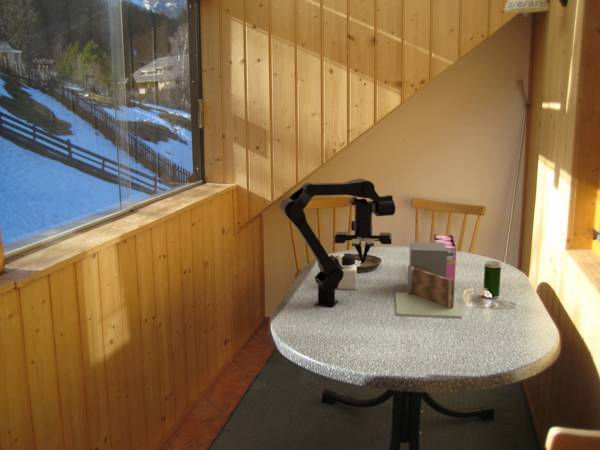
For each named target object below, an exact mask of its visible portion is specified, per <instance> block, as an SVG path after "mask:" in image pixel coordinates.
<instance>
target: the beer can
mask: <svg viewBox="0 0 600 450" xmlns="http://www.w3.org/2000/svg"><path fill="white" fill-rule="evenodd" d="M483 270H484V271H483V273H484V274H483V288H482V289H483V290H486V291H489V292H490V293H491V294H492V300H494V299H495V300H497V299H498V298H499V297H500V292H501V273H502V271H501V270H502V265H501V262H500V261H496V260H494V261H493V260H487V261H485V264H484V269H483Z"/></svg>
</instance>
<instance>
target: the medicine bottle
mask: <svg viewBox="0 0 600 450" xmlns="http://www.w3.org/2000/svg"><path fill="white" fill-rule="evenodd" d="M353 254H354V253H340V254H339V255H337V256H338V261H339V264H340V265H341V267H343V268H344V269H342V270H343V273H344V275H343V278H342V280H341V281H340V282H339V285H338V288H337V289H336V290H357V273H358V272H357V266H356V265H355V256H354V255H353Z"/></svg>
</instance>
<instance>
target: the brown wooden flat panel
mask: <svg viewBox="0 0 600 450" xmlns="http://www.w3.org/2000/svg"><path fill="white" fill-rule="evenodd" d="M455 282H456V280H455V281H454V280H451V279H448V278H445V277H442V276H439V275H436V274H433V273H430V272H427V271H424V270H420V269H417V268H414V271H413V294H414V295H417V296H420V297H422V298H425V299H428V300H430V301H433V302H435V303H438V304H441V305H443V306H446V307H448V308H453V307H454V295H455Z"/></svg>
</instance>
